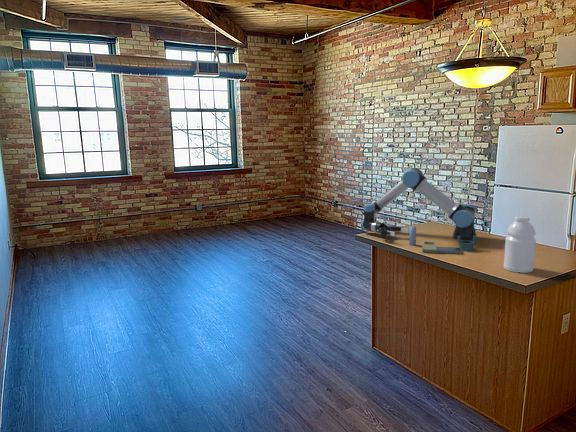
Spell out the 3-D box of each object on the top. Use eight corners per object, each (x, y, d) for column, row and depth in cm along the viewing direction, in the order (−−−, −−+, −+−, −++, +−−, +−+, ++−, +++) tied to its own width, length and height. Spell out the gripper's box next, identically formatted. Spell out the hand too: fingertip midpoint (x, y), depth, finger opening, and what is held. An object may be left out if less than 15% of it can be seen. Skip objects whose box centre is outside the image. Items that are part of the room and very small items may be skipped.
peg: (415, 244, 276) (416, 226, 274) (415, 245, 272) (416, 227, 270) (409, 244, 277) (409, 226, 275) (409, 245, 273) (409, 227, 271)
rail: (459, 250, 258) (460, 242, 257) (461, 254, 250) (461, 246, 249) (422, 248, 264) (422, 241, 263) (422, 252, 257) (422, 244, 256)
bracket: (476, 250, 259) (477, 235, 257) (467, 252, 254) (467, 237, 253) (464, 247, 266) (465, 233, 265) (454, 249, 262) (455, 235, 260)
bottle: (511, 273, 214) (515, 220, 209) (498, 265, 228) (501, 214, 223) (539, 272, 214) (543, 219, 209) (524, 264, 228) (528, 214, 223)
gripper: (391, 230, 306) (414, 235, 288) (365, 235, 293) (388, 241, 275) (391, 220, 305) (414, 224, 287) (365, 224, 291) (388, 230, 274)
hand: (401, 232), depth 281 cm, fingers open, 13 cm apart
